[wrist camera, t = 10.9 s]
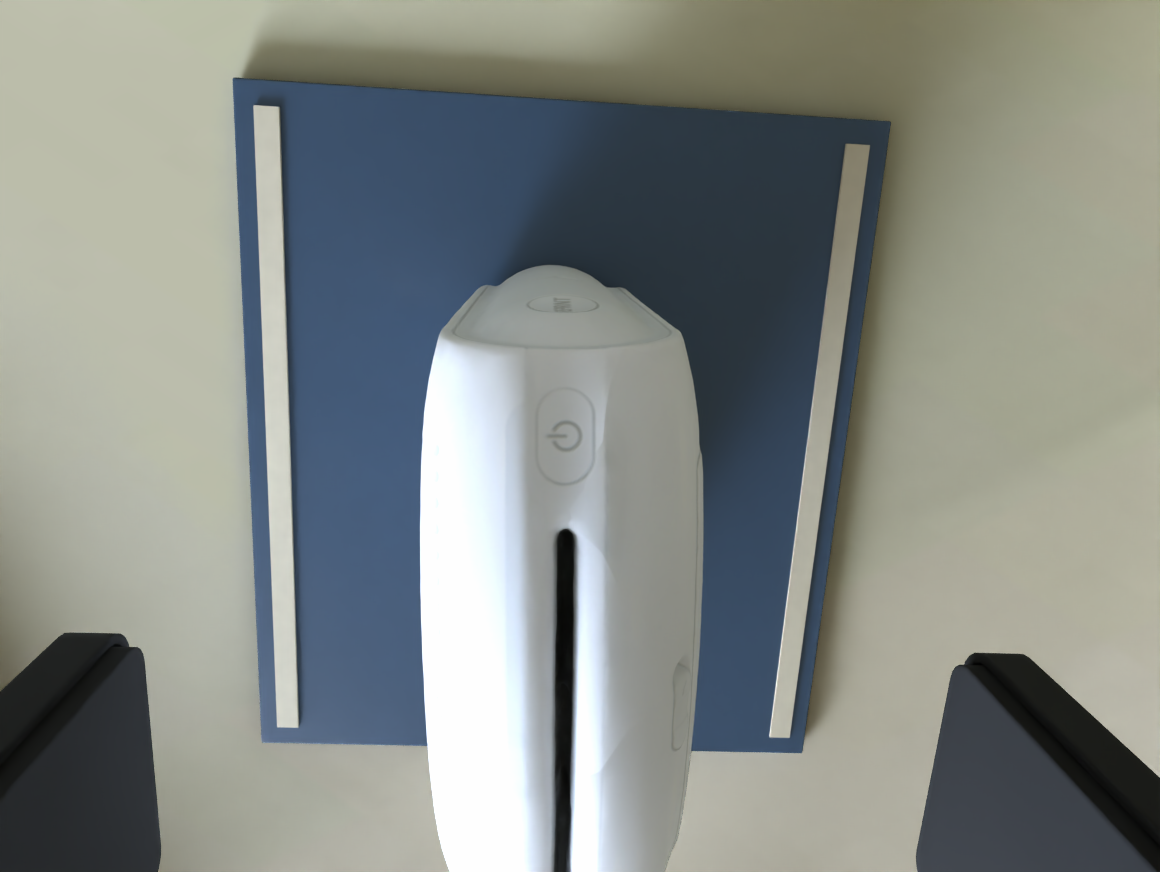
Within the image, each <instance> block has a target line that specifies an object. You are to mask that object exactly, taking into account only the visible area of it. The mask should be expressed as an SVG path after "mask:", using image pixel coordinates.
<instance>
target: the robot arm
mask: <svg viewBox="0 0 1160 872" xmlns="http://www.w3.org/2000/svg"><path fill="white" fill-rule="evenodd" d="M160 858H161V840H160V829H159V818H158V807H157V795H156V784H155V773H154V762H153V750H152V739H151V728H150V717H149V705H148V694H147V683H146V672H145V661H144V656H143V653H142V651H141V649H139V648H138V647H129V644H128V642H127V640H126V638H125V637H124V636H123V635H122V634H112V633H64V634H63V635H61V636H59V637H58V638H57V639H56V640H55V641H54V642H53V643H52V644H51V645H50V646H48V647H47V648H46V649H45V650H44V651H43V652H42V653H41V654H40V655H39V656H38V657H37V658H36V659H35V660H33V661H32V662H31V663H30V664H29V665H28V666H27V667H26V668H25V669H24V670H23V671H22V672H21V673H20V674H19V675H17V676H16V677H15V678H14V679H13V680H12V681H11V682H10V683H9V684H8V685H7V686H6V687H5V688H4V689H3V690H1V691H0V872H158V869H159V864H160ZM916 865H917V871H918V872H1160V778H1159V777H1158V776H1157V775H1156V774H1155V773H1154V772H1153V771H1152V770H1151V769H1150V768H1148V767H1147V766H1146V765H1145V764H1144V763H1143V762H1142V761H1141V760H1140V759H1139V758H1138V757H1137V756H1135V755H1134V754H1133V753H1132V752H1131V751H1130V750H1129V749H1128V748H1127V747H1126V746H1125V745H1124V744H1122V743H1121V742H1120V741H1119V740H1118V739H1117V738H1116V737H1115V736H1114V735H1113V734H1112V733H1111V732H1109V731H1108V730H1107V729H1106V728H1105V727H1104V726H1103V725H1102V724H1101V723H1100V722H1099V721H1097V720H1096V719H1095V718H1094V717H1093V716H1092V715H1091V714H1090V713H1089V712H1088V711H1087V710H1086V709H1084V708H1083V707H1082V706H1081V705H1080V704H1079V703H1078V702H1077V701H1076V700H1075V699H1074V698H1073V697H1071V696H1070V695H1069V694H1068V693H1067V692H1066V691H1065V690H1064V689H1063V688H1062V687H1061V686H1060V685H1058V684H1057V683H1056V682H1055V681H1054V680H1053V679H1052V678H1051V677H1050V676H1049V675H1048V674H1047V673H1045V672H1044V671H1043V670H1042V669H1041V668H1040V667H1039V666H1038V665H1037V664H1036V663H1035V662H1033V661H1032V660H1031V659H1030V658H1029V657H1027V656H1025V655H1024V654H1003V653H974V654H972V655H970V656H969V657H968V658H967V660H966V661H965V664H964V665H958V666H956V667H955V668H954V670H953V671H952V675H951V678H950V683H949V688H948V693H947V698H946V703H945V708H944V713H943V719H942V724H941V729H940V734H939V739H938V744H937V749H936V754H935V759H934V764H933V770H932V775H931V780H930V785H929V790H928V795H927V800H926V805H925V810H924V816H923V821H922V826H921V831H920V836H919V841H918V846H917V853H916Z"/></svg>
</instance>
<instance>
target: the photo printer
mask: <svg viewBox="0 0 1160 872" xmlns="http://www.w3.org/2000/svg"><path fill="white" fill-rule="evenodd" d="M422 438H423V443H422V459H421V515H420V574H421V582H420V593H421V627H422V659H423V673H424V699H425V715H426V731H427V744H428V755H429V767H430V777H431V785H432V794H433V802H434V810H435V816H436V822H437V828H438V834H439V838H440V842H441V846H442V850H443V853H444V856H445V859H446V862H447V865H448V868H449V870H450V872H665V869H666V866H667V863H668V860H669V857H670V854H671V851H672V849H673V847H674V845H675V843H676V841H677V838H678V834H679V829H680V825H681V820H682V814H683V808H684V800H685V794H686V788H687V781H688V772H689V765H690V754H691V746H692V736H693V726H694V715H695V702H696V692H697V677H698V667H699V664H698V663H699V650H700V630H701V604H702V583H703V465H702V454H701V451H700V446H699V422H698V412H697V405H696V398H695V390H694V383H693V378H692V373H691V369H690V365H689V360H688V356H687V351H686V347H685V343H684V339H683V337H682V334H681V332H680V331H679V330H677V329H676V328H674V327H673V326H672V325H670V324H669V323H668V322H667V321H665V320H664V319H662V318H661V317H660V316H659V315H657V314H656V313H654V312H653V311H652V310H651V309H649V308H648V307H647V306H646V305H644V304H643V303H642V302H640V301H639V300H638V299H637V298H635V297H634V296H633V295H632V294H631V293H630V292H628V291H627V290H626V289H624V288H621V287H617V288H607V287H605V286H604V285H602V284H601V283H600V282H599V281H597V280H596V279H595V278H593V277H592V276H590V275H588V274H586V273H584V272H582V271H580V270H577V269H575V268H570V267H566V266H560V265H542V266H536V267H532V268H528V269H525V270H523V271H520V272H518V273H516V274H515V275H513V276H511V277H510V278H508V279H507V280H505V281H504V282H503V283H502V284H500V285H498V286H491V285H484V286H481V287H480V288H479V289H477V290H476V291H475V292H474V294H473V295H472V296H471V297H470V298H469V299H468V300H467V301H466V302H465V303H464V304H463V306H462V307H461V308H460V309H459V310H458V311H457V312H456V313H455V314H454V316H453V317H452V318H451V319H450V321H449V322H448V323H447V325H445V326H444V328H443V329H442V330H441V332H440V334H439V337H438V341H437V345H436V349H435V353H434V357H433V362H432V367H431V371H430V376H429V381H428V388H427V395H426V402H425V410H424V424H423V433H422Z"/></svg>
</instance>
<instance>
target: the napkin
mask: <svg viewBox="0 0 1160 872" xmlns="http://www.w3.org/2000/svg"><path fill="white" fill-rule="evenodd" d="M233 97H234V120H235V143H236V166H237V189H238V212H239V235H240V258H241V280H242V303H243V326H244V349H245V372H246V395H247V418H248V441H249V464H250V487H251V510H252V533H253V555H254V578H255V601H256V624H257V647H258V670H259V693H260V716H261V739H262V742H263V743H310V744H362V745H413V746H428V744H427V731H426V715H425V699H424V673H423V659H422V627H421V593H420V582H421V574H420V515H421V459H422V443H423V438H422V433H423V424H424V410H425V402H426V395H427V388H428V381H429V376H430V371H431V367H432V362H433V357H434V353H435V349H436V345H437V341H438V337H439V334H440V332H441V330H442V329H443V328H444V326H445V325H447V323H448V322H449V321H450V319H451V318H452V317H453V316H454V314H455V313H456V312H457V311H458V310H459V309H460V308H461V307H462V306H463V304H464V303H465V302H466V301H467V300H468V299H469V298H470V297H471V296H472V295H473V294H474V292H475V291H476V290H477V289H479V288H480V287H481V286H484V285H491V286H498V285H500V284H502V283H503V282H504V281H505V280H507V279H508V278H510V277H511V276H513V275H515V274H516V273H518V272H520V271H523V270H525V269H528V268H532V267H536V266H542V265H560V266H566V267H570V268H575V269H577V270H580V271H582V272H584V273H586V274H588V275H590V276H592V277H593V278H595V279H596V280H597V281H599V282H600V283H601V284H602V285H604V286H605V287H607V288H617V287H621V288H624V289H626V290H627V291H628V292H630V293H631V294H632V295H633V296H634V297H635V298H637V299H638V300H639V301H640V302H642V303H643V304H644V305H646V306H647V307H648V308H649V309H651V310H652V311H653V312H654V313H656V314H657V315H659V316H660V317H661V318H662V319H664V320H665V321H667V322H668V323H669V324H670V325H672V326H673V327H674V328H676V329H677V330H679V331H680V332H681V334H682V337H683V339H684V343H685V347H686V351H687V356H688V360H689V365H690V369H691V373H692V378H693V383H694V390H695V398H696V405H697V412H698V422H699V446H700V451H701V454H702V465H703V583H702V604H701V630H700V650H699V663H698V664H699V667H698V677H697V692H696V702H695V715H694V726H693V736H692V746H691V751H721V752H772V753H802V751H803V744H804V737H805V730H806V722H807V715H808V708H809V701H810V694H811V687H812V680H813V673H814V666H815V658H816V651H817V644H818V637H819V630H820V623H821V616H822V609H823V602H824V595H825V587H826V580H827V573H828V566H829V559H830V552H831V545H832V538H833V531H834V524H835V516H836V509H837V502H838V495H839V488H840V481H841V474H842V467H843V460H844V452H845V445H846V438H847V431H848V424H849V417H850V410H851V403H852V396H853V389H854V381H855V374H856V367H857V360H858V353H859V346H860V339H861V332H862V325H863V317H864V310H865V303H866V296H867V289H868V282H869V275H870V268H871V261H872V254H873V246H874V239H875V232H876V225H877V218H878V211H879V204H880V197H881V190H882V183H883V175H884V168H885V161H886V154H887V147H888V140H889V133H890V126H891V122H890V121H877V120H862V119H847V118H833V117H818V116H803V115H788V114H773V113H758V112H743V111H728V110H713V109H698V108H683V107H668V106H653V105H638V104H623V103H608V102H593V101H578V100H563V99H548V98H533V97H518V96H503V95H488V94H473V93H458V92H443V91H428V90H413V89H398V88H383V87H368V86H353V85H338V84H323V83H308V82H293V81H278V80H263V79H248V78H233Z"/></svg>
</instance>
